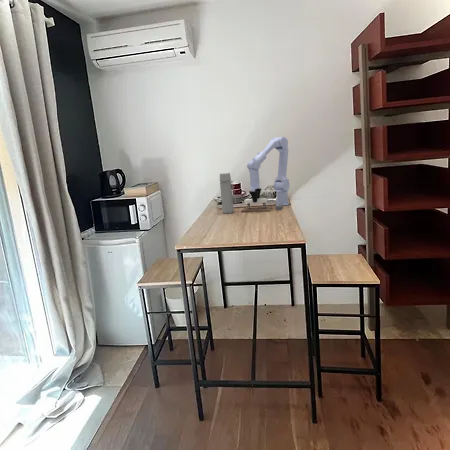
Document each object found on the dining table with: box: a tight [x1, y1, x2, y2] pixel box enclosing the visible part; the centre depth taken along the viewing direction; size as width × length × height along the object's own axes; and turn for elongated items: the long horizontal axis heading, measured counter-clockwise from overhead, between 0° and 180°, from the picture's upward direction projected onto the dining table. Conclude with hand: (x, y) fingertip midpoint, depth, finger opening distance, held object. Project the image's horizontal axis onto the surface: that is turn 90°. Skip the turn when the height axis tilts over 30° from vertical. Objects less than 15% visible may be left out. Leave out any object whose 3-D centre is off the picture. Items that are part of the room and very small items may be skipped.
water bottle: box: [219, 172, 237, 214], centre depth 242 cm, size 9×8×25 cm
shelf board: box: [244, 197, 269, 204], centre depth 242 cm, size 14×5×2 cm, turn 74°
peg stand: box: [240, 202, 273, 213], centre depth 243 cm, size 10×18×5 cm, turn 74°
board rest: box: [275, 203, 283, 211], centre depth 241 cm, size 8×3×2 cm, turn 164°
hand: (256, 201), depth 242 cm, fingers open, 7 cm apart
